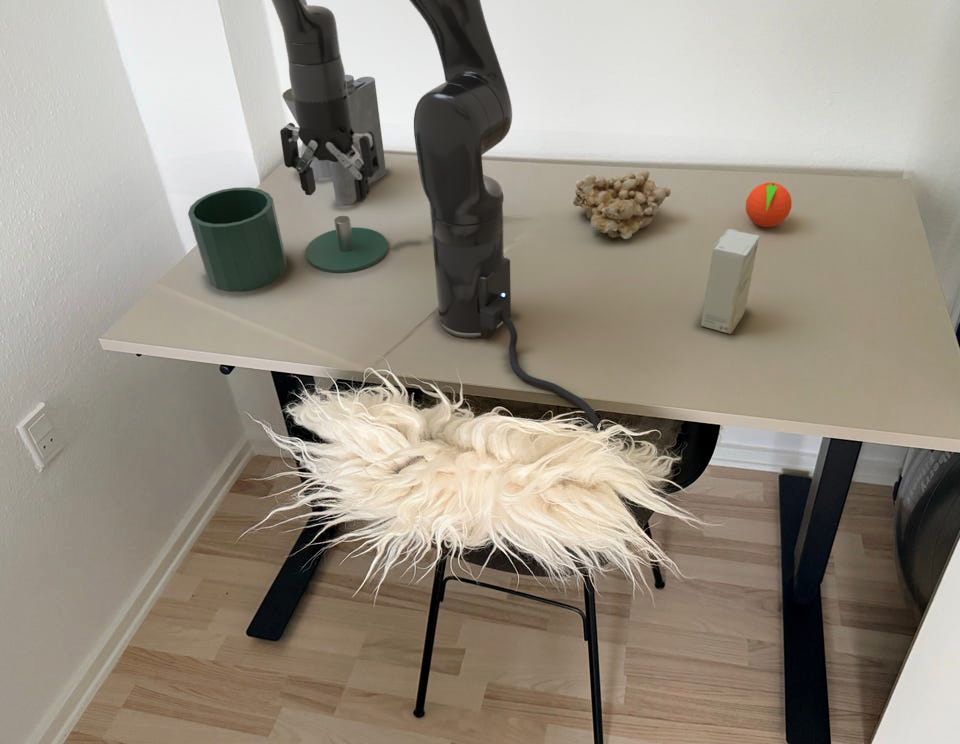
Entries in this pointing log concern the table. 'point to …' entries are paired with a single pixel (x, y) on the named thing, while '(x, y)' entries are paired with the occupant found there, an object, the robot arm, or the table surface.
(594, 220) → the mineral formation
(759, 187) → the clementine
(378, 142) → the hip flask
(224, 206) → the open teal cylindrical container
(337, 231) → the teal disc with peg
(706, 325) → the cosmetic box
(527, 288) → the table surface
